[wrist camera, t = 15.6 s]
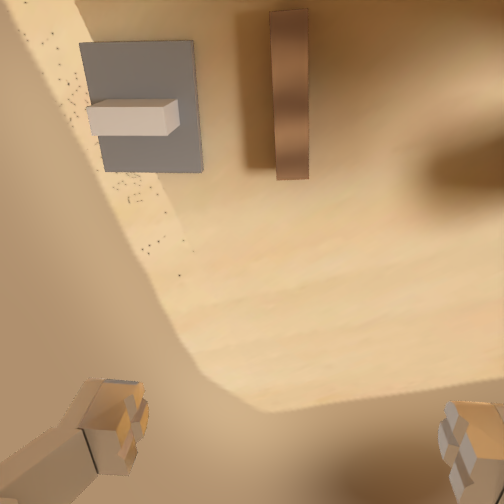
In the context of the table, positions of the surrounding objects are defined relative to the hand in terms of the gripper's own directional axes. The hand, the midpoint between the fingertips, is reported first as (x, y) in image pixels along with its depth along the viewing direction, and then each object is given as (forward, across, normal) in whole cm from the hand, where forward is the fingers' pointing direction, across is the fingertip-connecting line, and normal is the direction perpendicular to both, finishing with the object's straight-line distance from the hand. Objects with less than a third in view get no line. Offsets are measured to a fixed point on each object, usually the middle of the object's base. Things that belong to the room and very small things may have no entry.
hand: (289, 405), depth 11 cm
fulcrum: (+39, +17, -1) cm, 43 cm away
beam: (+39, 0, -2) cm, 39 cm away
